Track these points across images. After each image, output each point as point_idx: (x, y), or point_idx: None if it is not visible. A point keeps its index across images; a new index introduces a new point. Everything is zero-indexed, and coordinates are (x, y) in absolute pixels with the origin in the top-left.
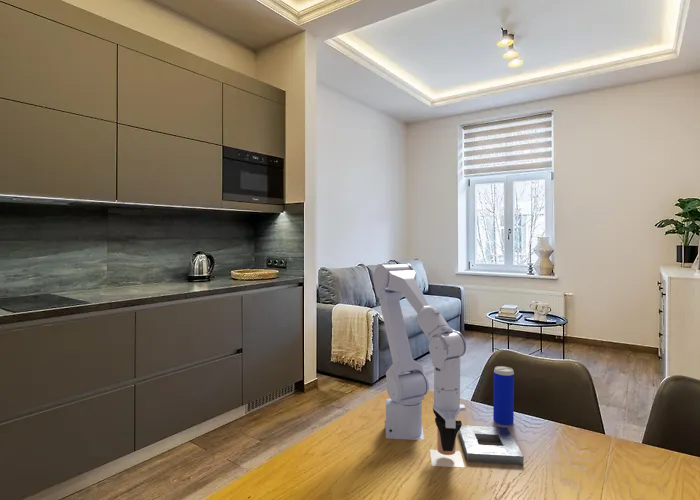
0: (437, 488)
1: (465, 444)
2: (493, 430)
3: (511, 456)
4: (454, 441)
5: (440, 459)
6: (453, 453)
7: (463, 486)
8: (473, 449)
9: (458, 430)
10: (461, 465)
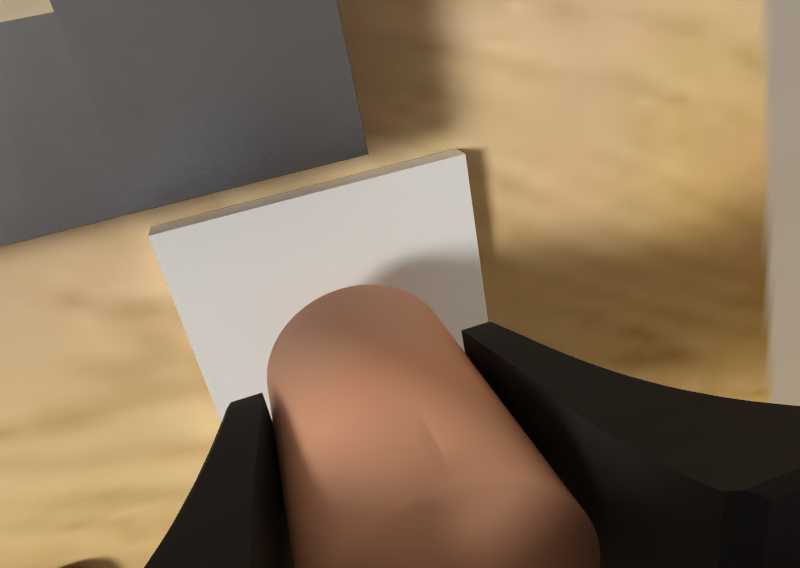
0: (712, 302)
1: (143, 201)
2: None
3: None
4: (575, 358)
5: None
6: (412, 297)
7: (678, 136)
8: (243, 87)
9: (785, 409)
10: (435, 186)
